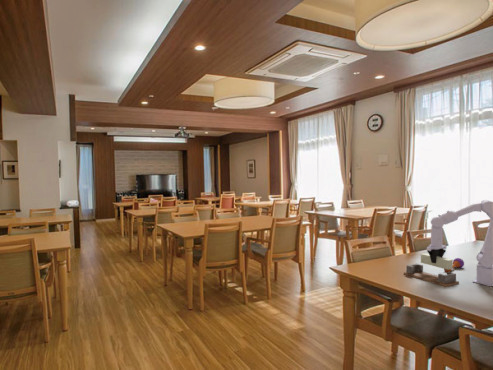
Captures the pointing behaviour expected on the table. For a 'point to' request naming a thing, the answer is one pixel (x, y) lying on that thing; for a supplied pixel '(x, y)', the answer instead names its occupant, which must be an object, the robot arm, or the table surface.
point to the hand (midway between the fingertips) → (436, 262)
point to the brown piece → (456, 264)
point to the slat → (437, 261)
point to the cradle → (431, 276)
